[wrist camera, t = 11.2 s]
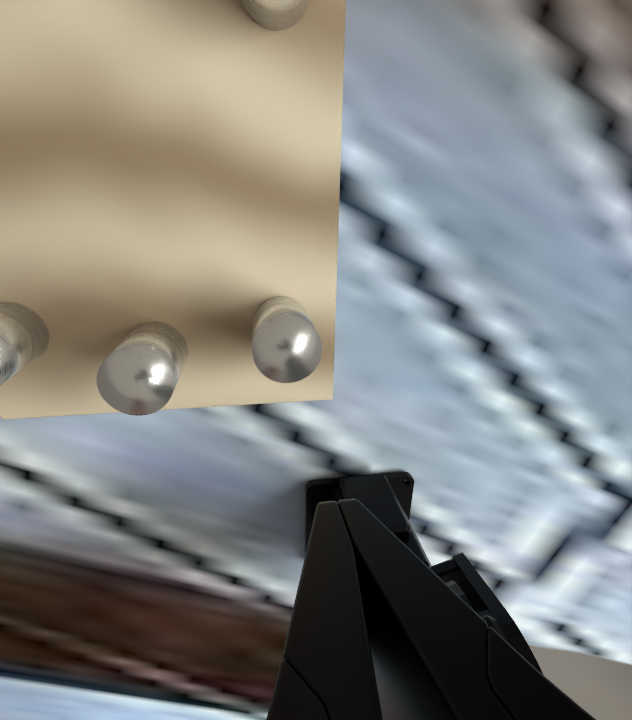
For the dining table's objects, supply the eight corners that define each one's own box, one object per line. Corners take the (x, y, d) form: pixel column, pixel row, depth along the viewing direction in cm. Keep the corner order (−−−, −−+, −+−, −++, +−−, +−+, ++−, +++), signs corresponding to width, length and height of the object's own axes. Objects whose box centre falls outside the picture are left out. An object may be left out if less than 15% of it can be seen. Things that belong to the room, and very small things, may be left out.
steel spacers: (309, 369, 19) (321, 404, 15) (-5, 384, 17) (-65, 428, 13) (312, -107, 12) (334, -213, 9) (-188, -173, 10) (-382, -338, 7)
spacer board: (328, 388, 21) (332, 399, 20) (16, 406, 18) (1, 419, 17) (343, -146, 13) (351, -177, 12) (-181, -223, 11) (-230, -271, 10)
